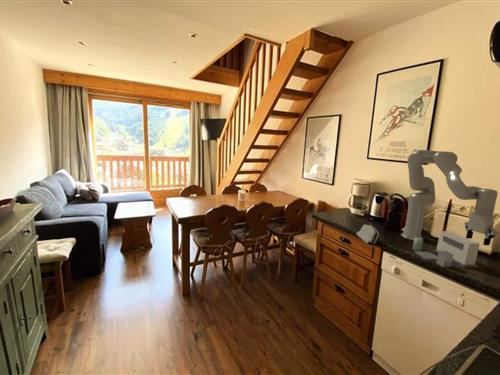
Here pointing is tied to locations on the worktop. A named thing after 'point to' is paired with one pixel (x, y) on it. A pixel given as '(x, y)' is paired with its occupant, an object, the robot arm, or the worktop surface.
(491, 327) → the worktop surface
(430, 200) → the robot arm
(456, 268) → the worktop surface
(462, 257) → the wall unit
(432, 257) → the slate mat
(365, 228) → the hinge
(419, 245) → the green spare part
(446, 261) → the metal block
